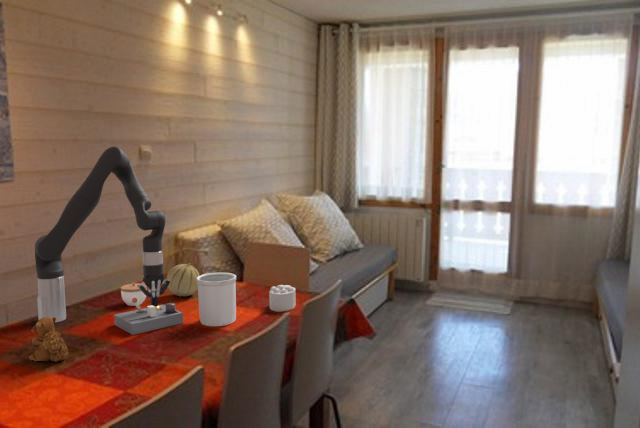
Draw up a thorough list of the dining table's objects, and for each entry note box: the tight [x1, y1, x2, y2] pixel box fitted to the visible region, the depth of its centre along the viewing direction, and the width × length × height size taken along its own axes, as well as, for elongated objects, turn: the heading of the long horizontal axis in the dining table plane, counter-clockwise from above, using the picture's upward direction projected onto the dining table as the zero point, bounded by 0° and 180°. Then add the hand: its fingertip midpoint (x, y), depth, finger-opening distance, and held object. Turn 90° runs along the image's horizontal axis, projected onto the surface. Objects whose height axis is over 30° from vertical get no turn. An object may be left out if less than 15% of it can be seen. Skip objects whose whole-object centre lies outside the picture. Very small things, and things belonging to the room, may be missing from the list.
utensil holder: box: [197, 272, 237, 327], centre depth 213 cm, size 15×15×18 cm
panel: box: [113, 304, 184, 336], centre depth 211 cm, size 20×16×4 cm
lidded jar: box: [120, 281, 148, 307], centre depth 238 cm, size 11×11×9 cm
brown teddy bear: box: [28, 317, 70, 363], centre depth 176 cm, size 10×14×13 cm
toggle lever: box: [132, 298, 142, 311], centre depth 212 cm, size 2×2×6 cm
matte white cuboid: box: [146, 304, 156, 317], centre depth 207 cm, size 2×3×4 cm, turn 42°
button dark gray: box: [164, 302, 176, 313], centre depth 212 cm, size 4×4×3 cm
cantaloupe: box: [166, 262, 200, 297], centre depth 251 cm, size 15×15×15 cm
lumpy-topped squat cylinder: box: [268, 284, 297, 313], centre depth 232 cm, size 10×13×9 cm
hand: (155, 306), depth 216 cm, fingers closed
